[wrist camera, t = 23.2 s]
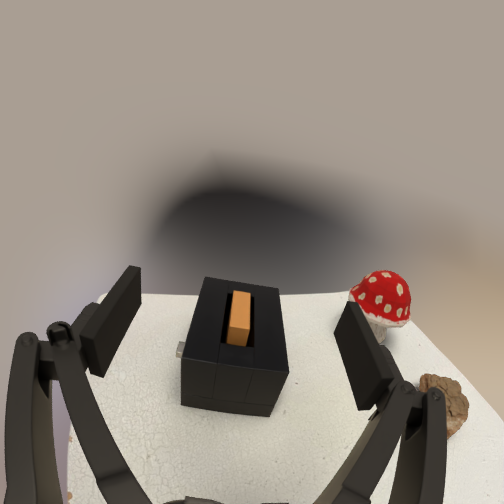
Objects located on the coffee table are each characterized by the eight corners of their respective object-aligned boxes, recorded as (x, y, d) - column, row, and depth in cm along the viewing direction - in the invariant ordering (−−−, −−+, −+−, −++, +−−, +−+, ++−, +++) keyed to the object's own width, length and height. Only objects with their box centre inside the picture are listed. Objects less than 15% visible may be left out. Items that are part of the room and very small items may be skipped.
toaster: (172, 403, 32) (170, 355, 28) (193, 322, 49) (197, 275, 44) (269, 417, 33) (289, 372, 29) (265, 333, 49) (278, 288, 45)
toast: (221, 371, 36) (229, 326, 32) (226, 334, 43) (233, 290, 40) (239, 373, 36) (249, 329, 33) (241, 336, 43) (250, 292, 40)
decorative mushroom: (348, 309, 61) (370, 250, 55) (399, 335, 54) (428, 277, 48) (322, 336, 51) (349, 269, 45) (383, 370, 44) (422, 304, 38)
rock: (462, 447, 26) (480, 430, 24) (414, 441, 29) (432, 423, 27) (454, 394, 38) (469, 377, 35) (412, 384, 41) (426, 366, 38)
